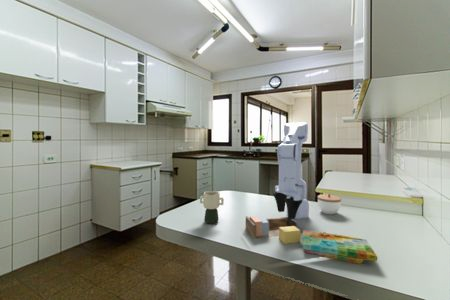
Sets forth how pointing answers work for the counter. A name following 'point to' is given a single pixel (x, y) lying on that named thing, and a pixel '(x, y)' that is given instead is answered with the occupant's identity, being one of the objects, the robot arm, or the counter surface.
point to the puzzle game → (338, 247)
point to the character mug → (211, 205)
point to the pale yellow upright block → (289, 234)
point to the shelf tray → (273, 226)
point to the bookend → (293, 223)
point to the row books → (261, 226)
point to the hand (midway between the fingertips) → (286, 215)
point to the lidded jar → (329, 203)
